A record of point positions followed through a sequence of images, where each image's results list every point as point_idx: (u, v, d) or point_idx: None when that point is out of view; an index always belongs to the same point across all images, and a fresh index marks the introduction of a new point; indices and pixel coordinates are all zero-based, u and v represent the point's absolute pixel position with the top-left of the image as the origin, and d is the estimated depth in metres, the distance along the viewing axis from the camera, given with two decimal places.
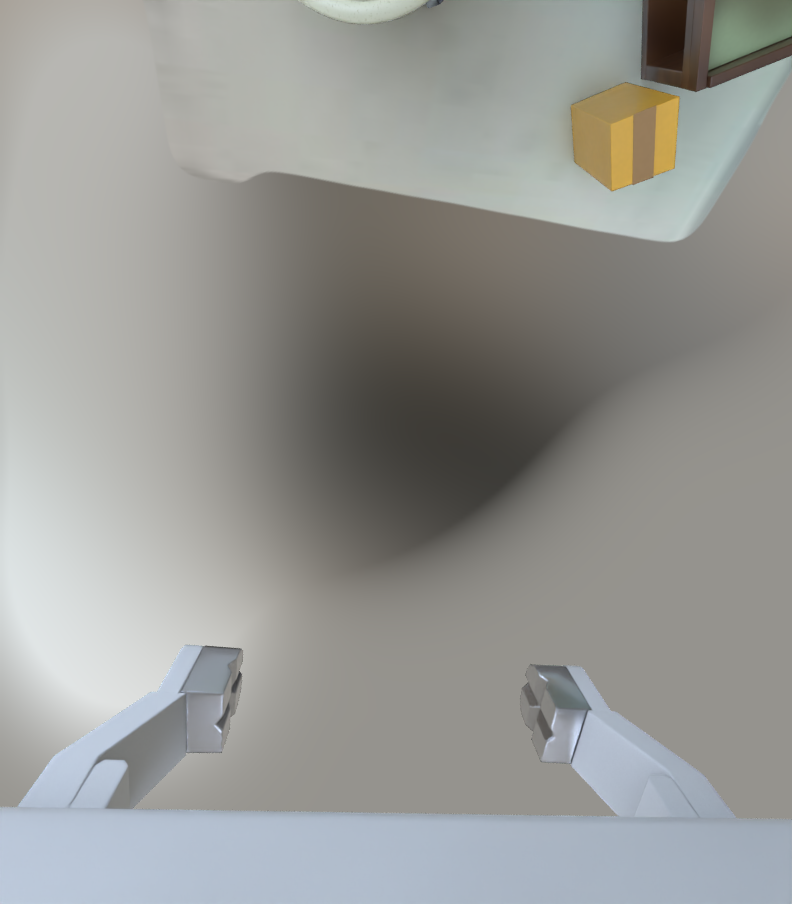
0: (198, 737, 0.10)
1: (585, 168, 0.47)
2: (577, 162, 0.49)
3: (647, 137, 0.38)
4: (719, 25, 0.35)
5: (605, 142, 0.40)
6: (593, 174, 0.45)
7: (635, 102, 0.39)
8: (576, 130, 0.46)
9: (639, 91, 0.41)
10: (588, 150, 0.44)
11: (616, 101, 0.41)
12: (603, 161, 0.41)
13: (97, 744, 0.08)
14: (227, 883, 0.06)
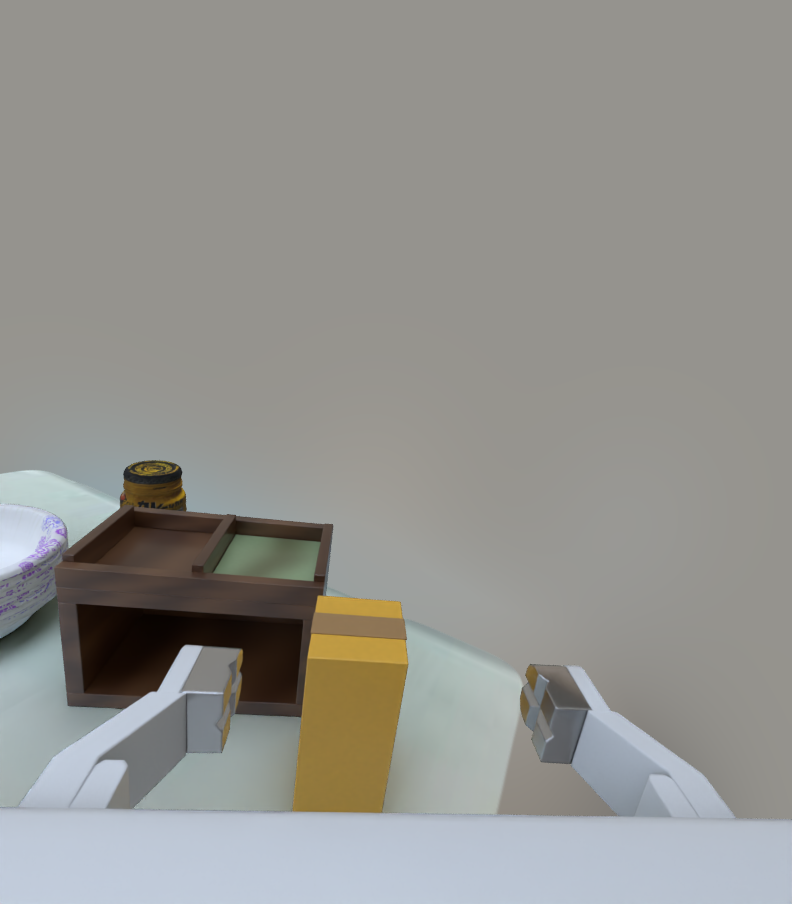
0: (198, 737, 0.10)
1: (384, 769, 0.26)
2: (379, 804, 0.27)
3: (348, 621, 0.26)
4: None
5: (335, 678, 0.24)
6: (390, 736, 0.25)
7: None
8: (328, 798, 0.26)
9: None
10: (354, 751, 0.25)
11: None
12: (364, 693, 0.24)
13: (97, 744, 0.08)
14: (227, 883, 0.06)
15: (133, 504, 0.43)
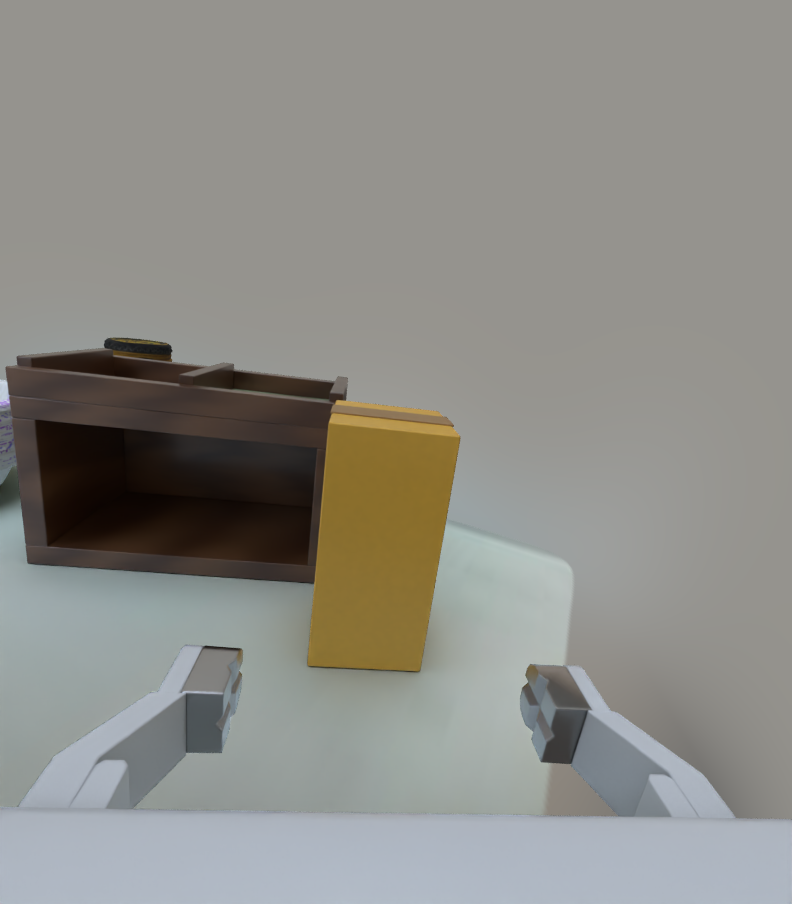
0: (198, 737, 0.10)
1: (426, 598, 0.20)
2: (418, 650, 0.21)
3: (377, 412, 0.21)
4: None
5: (365, 456, 0.18)
6: (435, 548, 0.20)
7: None
8: (353, 640, 0.21)
9: None
10: (388, 570, 0.20)
11: None
12: (402, 480, 0.19)
13: (97, 744, 0.08)
14: (227, 883, 0.06)
15: None
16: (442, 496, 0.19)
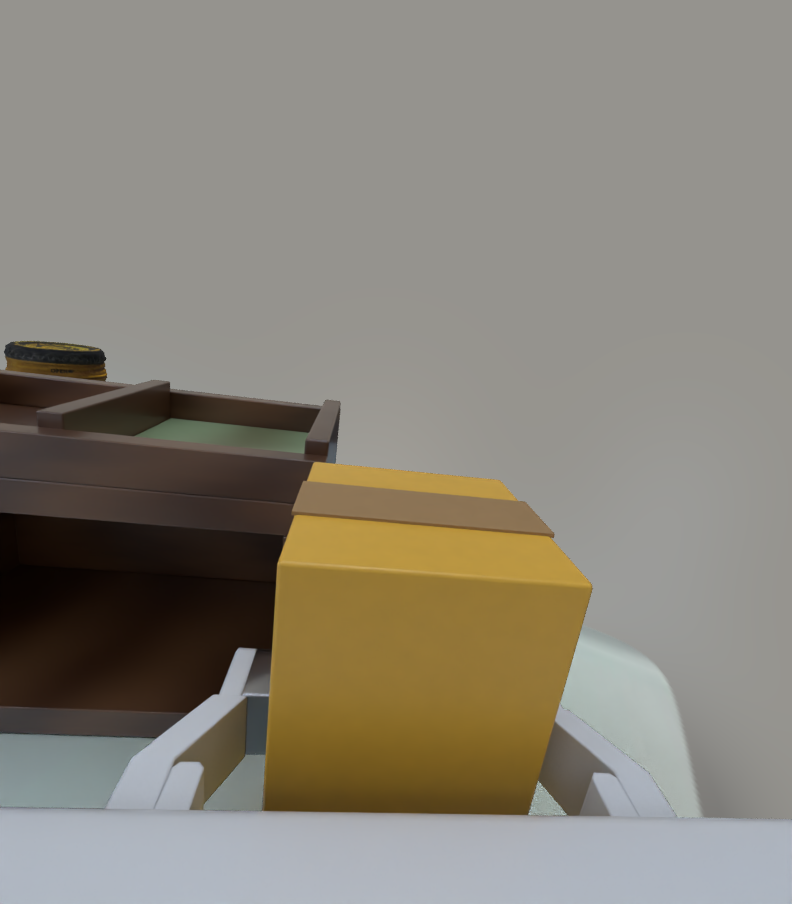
0: (257, 739, 0.10)
1: None
2: None
3: (392, 500, 0.10)
4: None
5: (367, 634, 0.08)
6: (518, 804, 0.09)
7: None
8: None
9: None
10: None
11: None
12: (454, 681, 0.08)
13: (171, 746, 0.08)
14: (227, 883, 0.06)
15: None
16: (542, 709, 0.08)
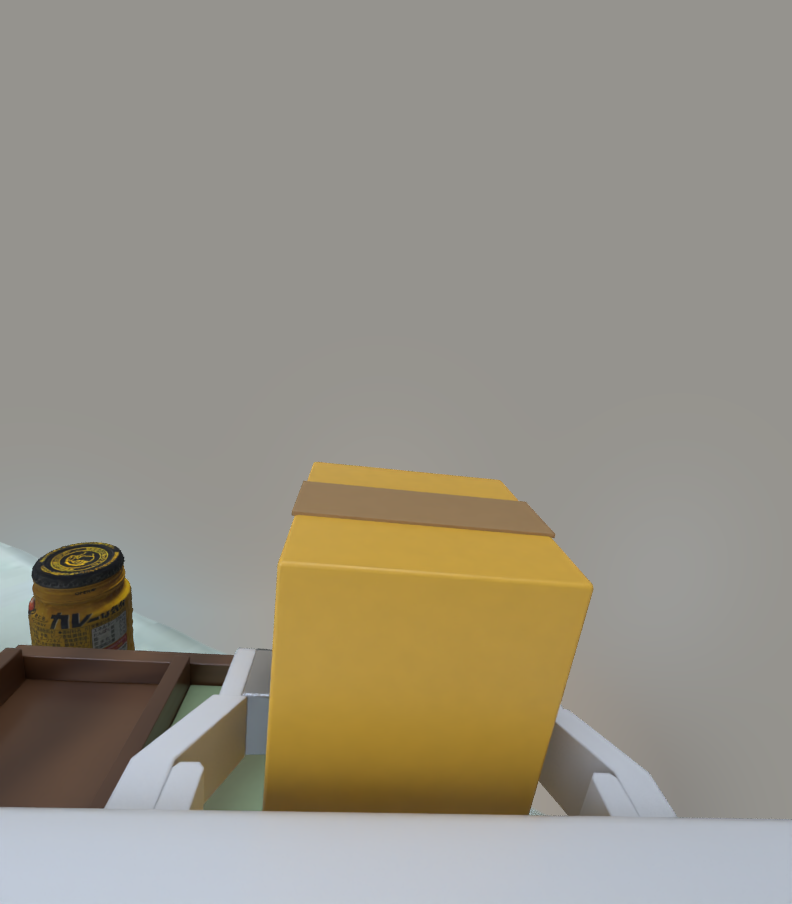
0: (257, 739, 0.10)
1: None
2: None
3: (392, 500, 0.10)
4: None
5: (368, 634, 0.08)
6: (519, 805, 0.09)
7: None
8: None
9: None
10: None
11: None
12: (454, 681, 0.08)
13: (171, 746, 0.08)
14: (227, 883, 0.06)
15: (44, 618, 0.29)
16: (542, 709, 0.08)
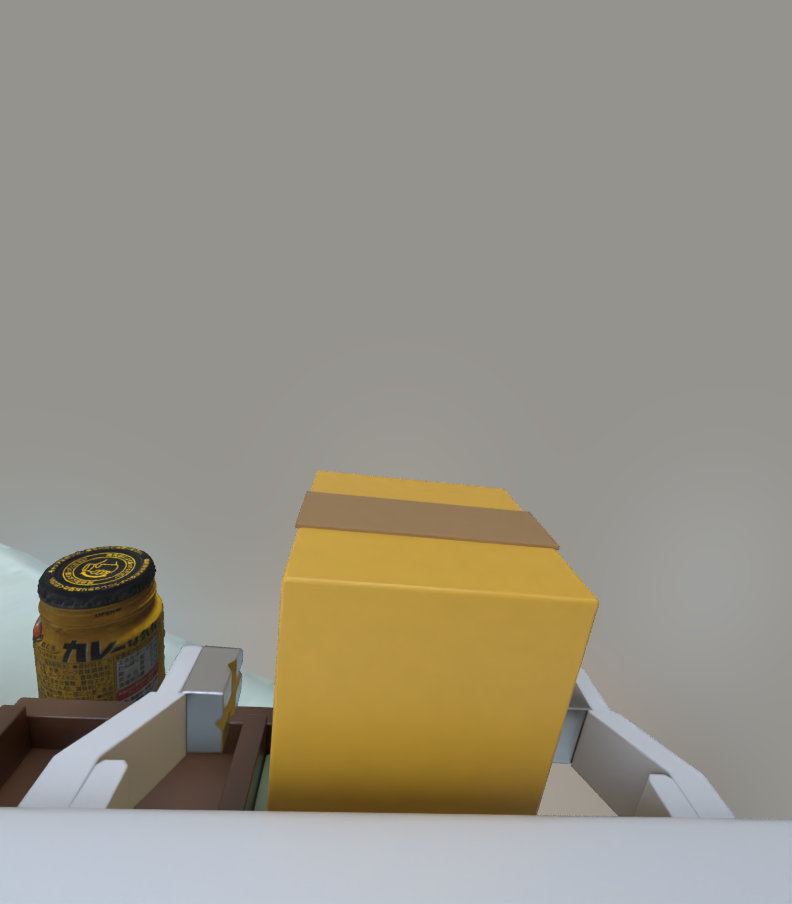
0: (198, 737, 0.10)
1: None
2: None
3: (396, 511, 0.10)
4: None
5: (372, 649, 0.08)
6: None
7: None
8: None
9: None
10: None
11: None
12: (459, 696, 0.08)
13: (97, 744, 0.08)
14: (227, 883, 0.06)
15: (55, 648, 0.21)
16: (547, 724, 0.08)
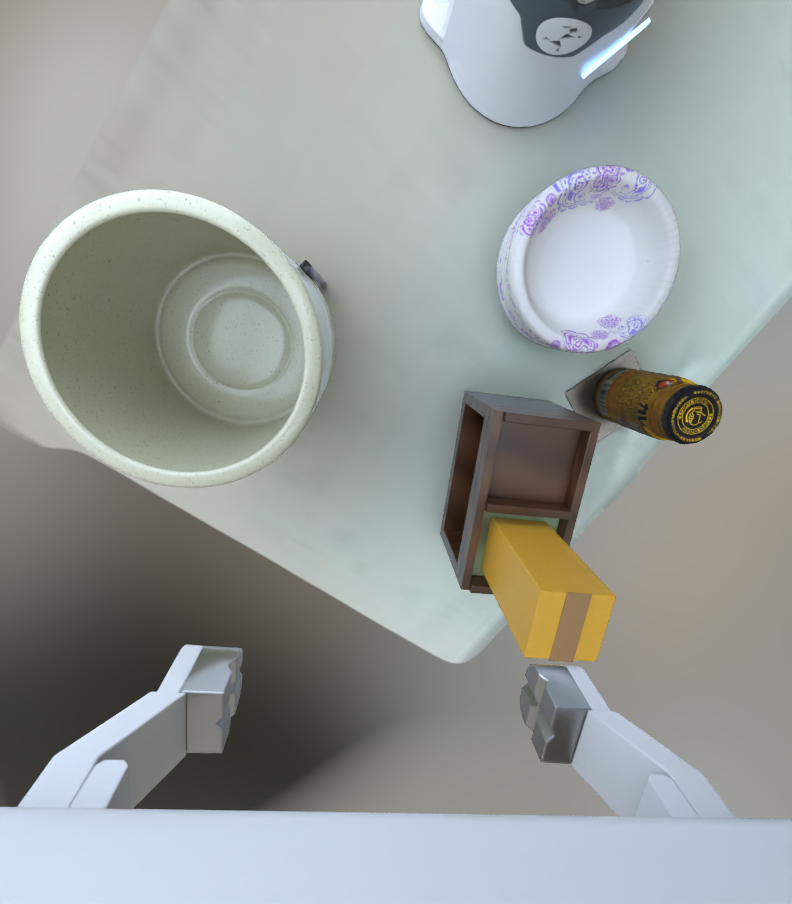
0: (198, 737, 0.10)
1: (493, 590, 0.39)
2: (484, 572, 0.41)
3: (576, 620, 0.30)
4: (483, 550, 0.42)
5: (529, 600, 0.31)
6: (502, 608, 0.36)
7: (564, 567, 0.33)
8: (491, 544, 0.40)
9: (565, 549, 0.36)
10: (502, 579, 0.37)
11: (541, 548, 0.36)
12: (519, 612, 0.33)
13: (97, 744, 0.08)
14: (227, 883, 0.06)
15: (646, 399, 0.40)
16: (512, 628, 0.34)
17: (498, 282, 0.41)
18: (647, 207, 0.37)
